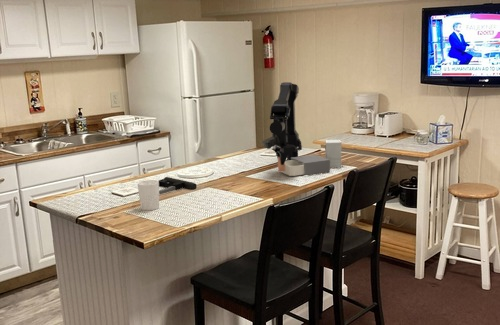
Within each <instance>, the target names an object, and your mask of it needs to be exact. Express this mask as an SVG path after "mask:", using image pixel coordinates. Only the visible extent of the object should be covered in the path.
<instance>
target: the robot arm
mask: <svg viewBox="0 0 500 325" xmlns="http://www.w3.org/2000/svg"><path fill="white" fill-rule="evenodd" d="M298 96H299V85H298V84H295V83H292V82H288V81H287V82H281V83H280V84H279V94H278V98H277V99H276V100H274V101H273V104H272V105H271V107H270V108H271V109H270V115H269V119H270V120H273V121H272V122H271V123H270V125H269V131H270V133H271V135H272V136H270V137H268V138H266V139H264V140H262V144H263V148H265V149H267V150H270V149H271V150H272V151H273V152H274V153H275V155H276V158H277V159H278V157H280V161H281V165H284V163H285V161H289V160H291V157H299V151H301V150H303V145H302V141H301V139H300V136H299V133H298V132H297V130H296V105H295V101H296V99H297V98H298Z"/></svg>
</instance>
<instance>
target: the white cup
mask: <svg viewBox="0 0 500 325" xmlns="http://www.w3.org/2000/svg"><path fill="white" fill-rule="evenodd" d="M137 190H138V198H139V202H140V203H139V204H140V209H141V210H143V211H154V210H157V209H159V208H160V194H159V191H160V186H159V180H157V179H145V180H141V181H138V182H137Z"/></svg>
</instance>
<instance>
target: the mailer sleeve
mask: <svg viewBox="0 0 500 325" xmlns="http://www.w3.org/2000/svg"><path fill="white" fill-rule="evenodd" d="M291 160H296V161H298V162H301V163H303V164H304V171H305V174H303V175H302V176H304V175H309V176H314V175H313V174H316V175H321V173H323V174H328V173H329V172H330V173H331V168H330V160H329V159H326V157H322V156H319V155H316V154H311V155H310V154H309V155H302V156H298V157H291Z"/></svg>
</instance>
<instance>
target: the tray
mask: <svg viewBox="0 0 500 325" xmlns="http://www.w3.org/2000/svg"><path fill="white" fill-rule="evenodd" d="M277 168H278V169H277V170H278V172H280V173H283V174H284V175H286V176H289V177H294V176H301V175H302V176H304V175H303V174H305V171H304V164H303V163H301V162H298V161H296V160H289V161H285V163H284V165H281V161H280V157H278V158H277Z"/></svg>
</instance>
